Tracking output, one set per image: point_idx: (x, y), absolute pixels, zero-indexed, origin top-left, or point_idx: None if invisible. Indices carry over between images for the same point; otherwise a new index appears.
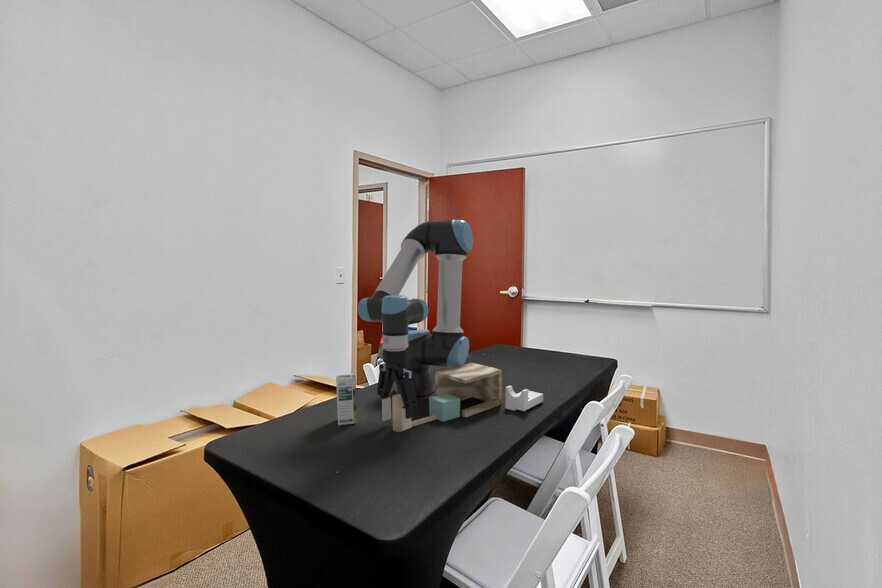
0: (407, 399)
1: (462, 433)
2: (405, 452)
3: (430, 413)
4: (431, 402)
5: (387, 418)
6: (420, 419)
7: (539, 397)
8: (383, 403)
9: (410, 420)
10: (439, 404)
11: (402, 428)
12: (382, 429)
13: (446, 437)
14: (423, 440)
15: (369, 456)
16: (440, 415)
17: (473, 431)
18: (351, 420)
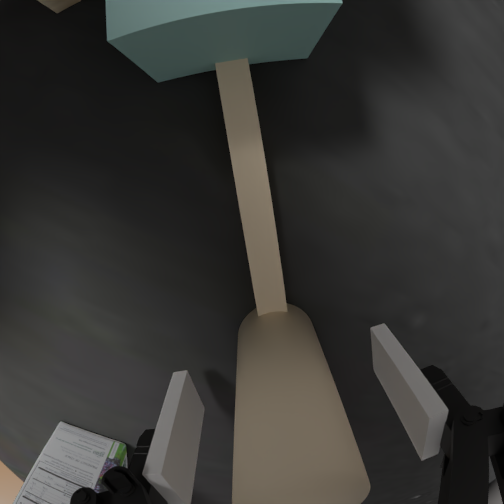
0: (501, 479)
1: (480, 82)
2: (473, 372)
3: (166, 75)
4: (158, 43)
5: (195, 395)
6: (245, 188)
7: None
8: (191, 487)
9: (402, 351)
10: (286, 15)
11: (376, 372)
12: (233, 399)
13: (485, 172)
14: (455, 282)
15: (414, 456)
16: (288, 47)
17: (476, 32)
18: (124, 465)
